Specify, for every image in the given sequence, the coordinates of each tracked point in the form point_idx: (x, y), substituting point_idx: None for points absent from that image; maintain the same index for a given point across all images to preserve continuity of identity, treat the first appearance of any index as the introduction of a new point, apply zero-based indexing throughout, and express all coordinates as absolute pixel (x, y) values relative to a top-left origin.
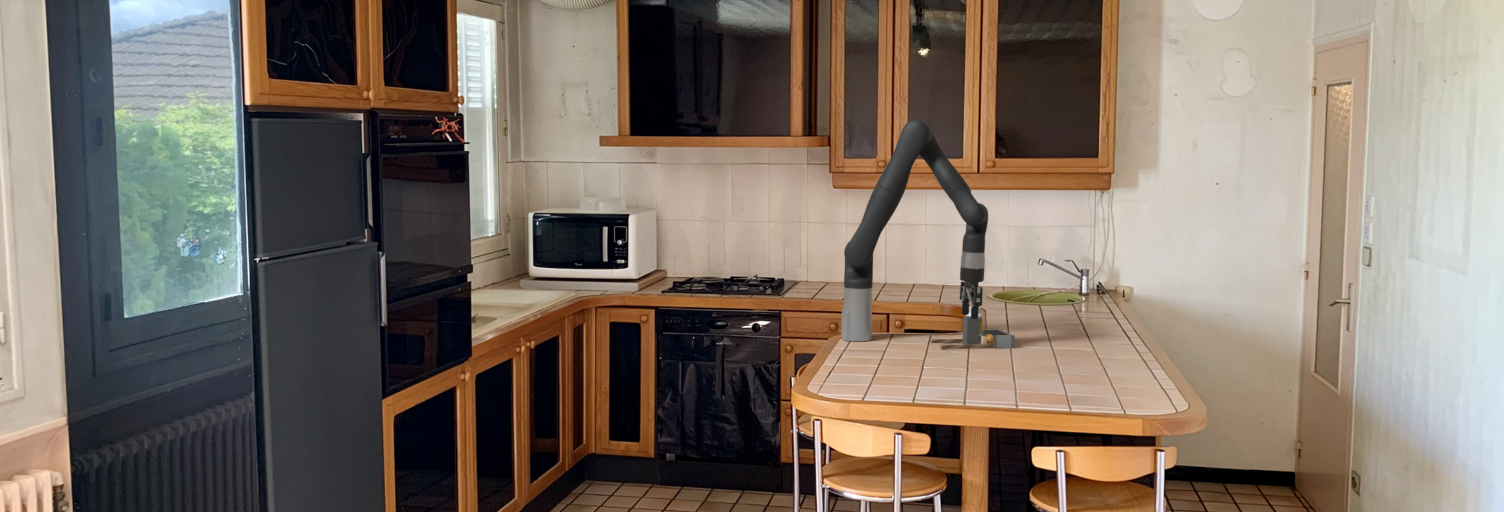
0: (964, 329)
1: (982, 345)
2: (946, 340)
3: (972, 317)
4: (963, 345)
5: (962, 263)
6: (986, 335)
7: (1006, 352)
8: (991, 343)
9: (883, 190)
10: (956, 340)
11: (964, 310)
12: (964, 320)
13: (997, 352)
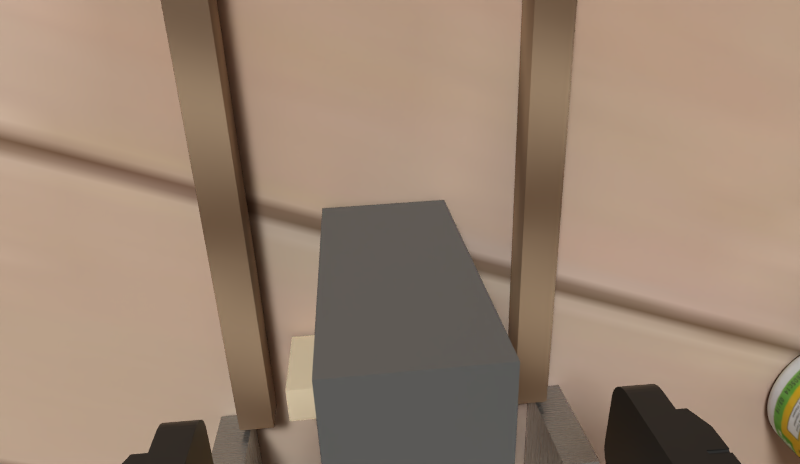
0: (419, 272)
1: (223, 331)
2: (528, 57)
3: (163, 444)
4: (191, 151)
5: None
6: None
7: (45, 448)
8: None
9: None
10: (523, 168)
11: (642, 454)
12: (445, 334)
13: (33, 386)
